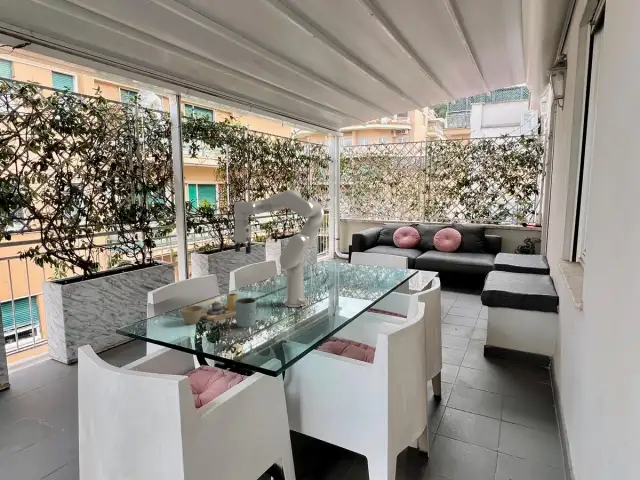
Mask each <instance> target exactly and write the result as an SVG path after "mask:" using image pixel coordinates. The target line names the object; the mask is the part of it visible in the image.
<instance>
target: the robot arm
mask: <svg viewBox="0 0 640 480" xmlns="http://www.w3.org/2000/svg"><path fill="white" fill-rule="evenodd" d="M302 196H303V195H302V194H301V192H300V191H299V190H297V189H287V190H284V191H283V192H280V193H275V194H272V195H271V196H270V197H267V198H264V199H260V200H252V201H235V202H234V207H233V208H234V209H233V211H234V233H233V234H234V236H232V238H231V239H232V240H233V241H232V242H233V244H234V251H235V253H238V252H241V244H244V245H245V255H247V254H251V253H252V249H251V248H252V244H253V238H252V237H251V236H252V235H251V234H252V233H251V227H250V225H249V215H250V216H251V215H253V216H254V215H261V214H264V213H269V212H272V211H278V210H282V209H286V208H288V209H289V210H291V211H292V212H293V213H296V215H299V216H300V217H302V218H307V220H306V221H305V222H304V224H303V225H302V227H301V230H300V231H299V232H298V233H296V234H294V235H292V236H291V237H290V238H289V240H288V241H287V243H286V245H285V247H284V248H283V251H282V252H281V253H280V254H281V255H280V256H279V264H280V267H282V268H283V269H285V270H286V272H285V273H286V277H285V279H286V300H285V301H284V303H283V304H284V306H285V307H287V306H288V307H287V308H300V306H302V307H305V306H306V305H307V304H308V303H309V300H308V299H306V296H305V295H304V294H305V291H304V268H305V267H304V265H305V255H304V251H307V249H309V248H310V247H311V245H312V243H313V241H314V239H315V238H316V236H317V235H318V233H319V231H320V229H321V228H322V225H323V223H324V219H325V211H324V208H323V206H322V204H321V203H319V202H318V201H316V200H307V199H304V198H303V197H302ZM304 305H305V306H304Z"/></svg>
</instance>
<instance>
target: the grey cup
mask: <svg viewBox="0 0 640 480" xmlns="http://www.w3.org/2000/svg"><path fill="white" fill-rule="evenodd" d="M235 307H236V315H235V316H236V326H237V327H238V328H247V329H248V328H251V327H254V326H255V325H256V314H257V311H256V310H257V299H256V298H253V297H240V298H237V300H235Z"/></svg>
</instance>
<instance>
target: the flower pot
mask: <svg viewBox="0 0 640 480" xmlns="http://www.w3.org/2000/svg"><path fill="white" fill-rule="evenodd" d="M202 311H203V307H202V306H199V305H187V306H185V307H182V308H181V309H180V312H181V315H182V318H183V320H184V322H185V323H186V324H187V325H197V324H198V323H199V322H200V319H201V318H202V317H201V314H202Z"/></svg>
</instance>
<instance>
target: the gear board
mask: <svg viewBox="0 0 640 480" xmlns="http://www.w3.org/2000/svg"><path fill="white" fill-rule="evenodd" d="M234 316H236V309H235V310H226V309H224V308H223V305H221V302H219V301H217V300H216V301H214V302H213V303H212V304H211V308H208V309H206V310H202V314H201V317H200V318H203V319H205V320H208V321H212V322H218V321H222V320H224V319H227V318H232V317H234Z"/></svg>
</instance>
